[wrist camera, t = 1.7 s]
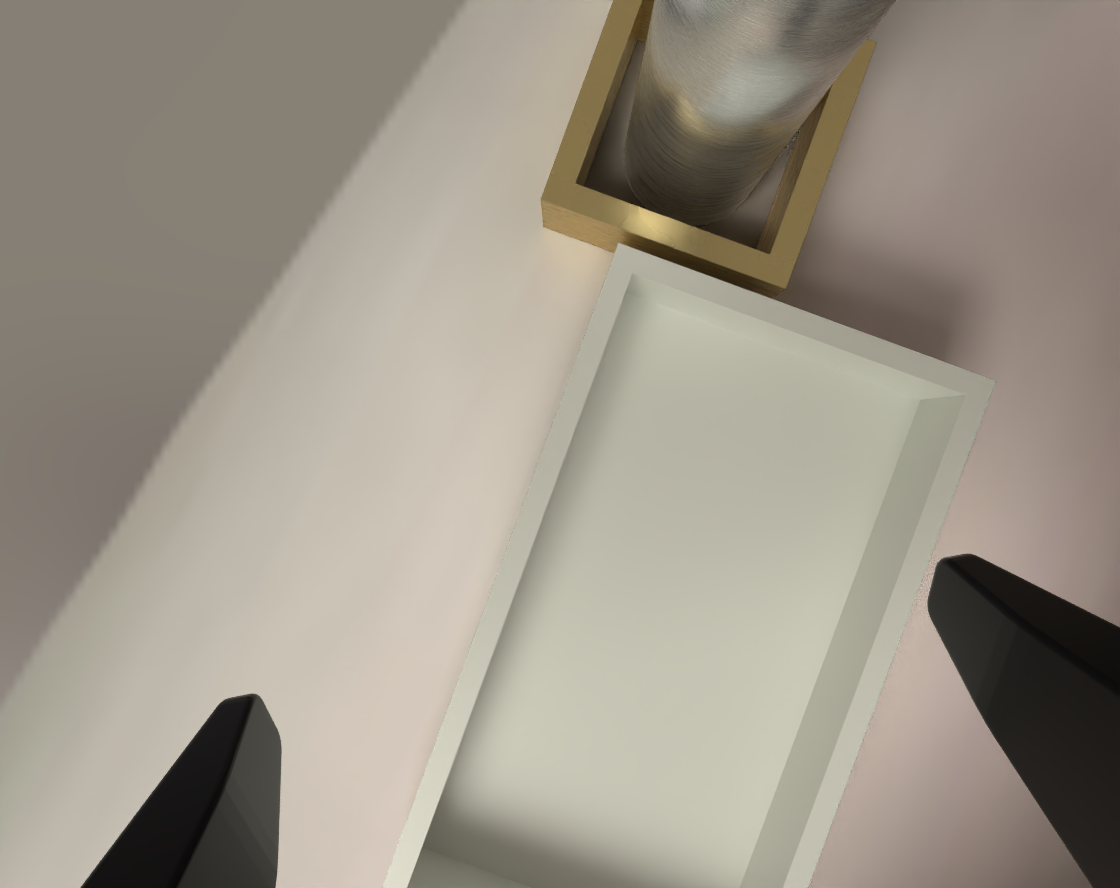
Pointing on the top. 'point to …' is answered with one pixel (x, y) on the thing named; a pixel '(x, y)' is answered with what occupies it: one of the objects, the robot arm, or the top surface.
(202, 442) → the top surface
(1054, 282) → the top surface
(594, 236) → the socket collar
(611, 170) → the top surface
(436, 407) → the top surface
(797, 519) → the tray
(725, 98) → the strut
